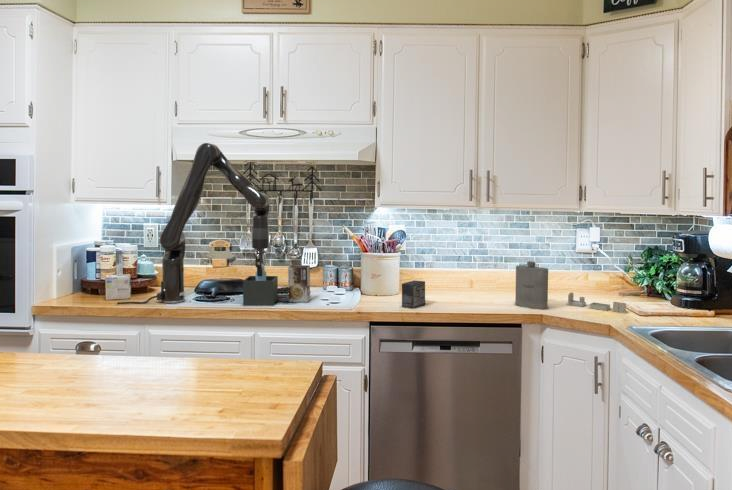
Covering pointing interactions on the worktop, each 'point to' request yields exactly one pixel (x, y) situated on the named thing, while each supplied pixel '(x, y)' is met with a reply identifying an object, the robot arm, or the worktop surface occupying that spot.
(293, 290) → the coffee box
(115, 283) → the light bulb box
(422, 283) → the small box
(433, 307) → the worktop surface
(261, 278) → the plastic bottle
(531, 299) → the flask
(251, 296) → the waste bin
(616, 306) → the bathroom set
